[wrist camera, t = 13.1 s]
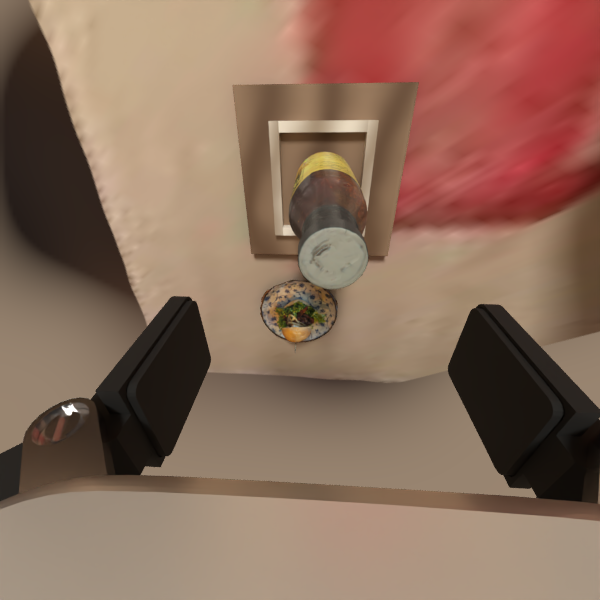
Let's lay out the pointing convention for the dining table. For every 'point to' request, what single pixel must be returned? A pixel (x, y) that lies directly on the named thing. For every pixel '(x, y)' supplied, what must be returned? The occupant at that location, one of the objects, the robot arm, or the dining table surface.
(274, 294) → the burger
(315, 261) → the sauce bottle
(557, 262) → the dining table surface
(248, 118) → the walnut board
